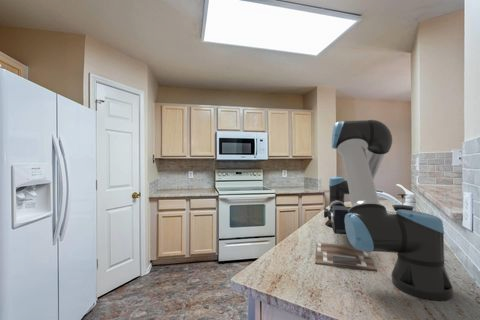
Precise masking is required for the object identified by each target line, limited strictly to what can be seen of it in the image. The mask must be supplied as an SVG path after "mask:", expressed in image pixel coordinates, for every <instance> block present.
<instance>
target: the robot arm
mask: <svg viewBox="0 0 480 320" xmlns="http://www.w3.org/2000/svg"><path fill="white" fill-rule="evenodd" d="M392 145H393V134H392V132H391V130H390V129H389V127H388V125H386V124H384V123H383V122H382V121H381V120H376V119H369V120H368V119H366V120H365V119H364V120H363V119H362V120H361V119H360V120H342V121H341V120H340V121H337V122H335V123H334V125H333V128H332V134H331V148H332V149H334V150H336V151H337V154H339V155H340V156H342V157H341V158H342V161H343V166H344V172H345V178H346V180H345V178H344V177H343V176H331V177H330V178H329V184H328V186H329V187H328V188H329V189H328V190H329V200H328V201H329V202H328V205H329V208H326V207H325V208H323V218H325V219H328V221H330V222H331V223H332V222H333V213H332V205H335V206H346V205H345V195H349V198H350V204H351V206H350V208H348V209H349V210H348V214H346V215H345V220H344V222H345V230H346V234H347V235H346V238H347V240H348V242H349V243H350V244H349V245H350V246H353V247H354V248H355V249H357V250H362V251H367V252H368V253H372V252H375V253H376V252H377V253H379V252H381V253H396V254H397V259H396V261H395V264H394V266H393V269H392V272H391V283H392V284H393V285H394V286H395V287H396V288H397V289H399V290H401V291H403V292H404V293H406V294H408V295H411V296H415V297H418V298H421V299H426V300H431V301H448V300H451V299H452V298H453V297H454V288H453V287H454V286H453V284H452V282H451V280H450V278H449V275H448V271H447V270H446V267H445V239H444V236H445V230H444V222H443V220H442V219H441V218H440V217H439V216H437V215H434V214H430V213H426V212H421V211H417V210H413V211H411V210H397V211H396V212H395V214H396V215H394V214H389V213H388V211H387V207H386V206H385V205H383V204H382V203H380V202H379V198H378V193H377V190H376V187H375V186H376V185H375V182H374V179H375V177H376V175H377V173H378V171H379V168H380V166H381V164H382V162H383V160H384V157H385V155H386V154H388V153H389V152H390V150H391V148H392Z"/></svg>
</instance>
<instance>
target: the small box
mask: <svg viewBox="0 0 480 320" xmlns="http://www.w3.org/2000/svg"><path fill="white" fill-rule="evenodd" d="M349 209H350V208H348V207H347V206H346V205H345V206H335V205H332V213H333V222H331V228H332V230H333V233H334V234H335V235H345V236H347V234H346V230H345V222H344V220H345V215H346V214H348V210H349Z"/></svg>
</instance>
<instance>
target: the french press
mask: <svg viewBox="0 0 480 320" xmlns="http://www.w3.org/2000/svg"><path fill="white" fill-rule="evenodd" d="M397 196H401V199H402V200H401V201H402V203H401V204H393V205H392V208H393V210H394V211H396V212H397V210H411V211H414V208H415V207H414V206H413V205H412V206H411V205H406V204H404V198H405V197H407V196H408V194H406V193H398V194H397ZM393 215H396V213H394V214H393Z"/></svg>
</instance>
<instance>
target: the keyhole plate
mask: <svg viewBox="0 0 480 320" xmlns="http://www.w3.org/2000/svg"><path fill="white" fill-rule="evenodd" d="M314 263H315V265H323V266H329V267H339V268H347V269H355V270H364V271H371V272H377V268H376V266H375V263H374V262H373V259H372V258H371V256H370V253H369V252H368V251H362V250H357V249H355V248H354V247H353V246H352V245H350V244H349V245H348V244H347V245H346V244H336V243H326V242H316V247H315V261H314Z"/></svg>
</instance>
